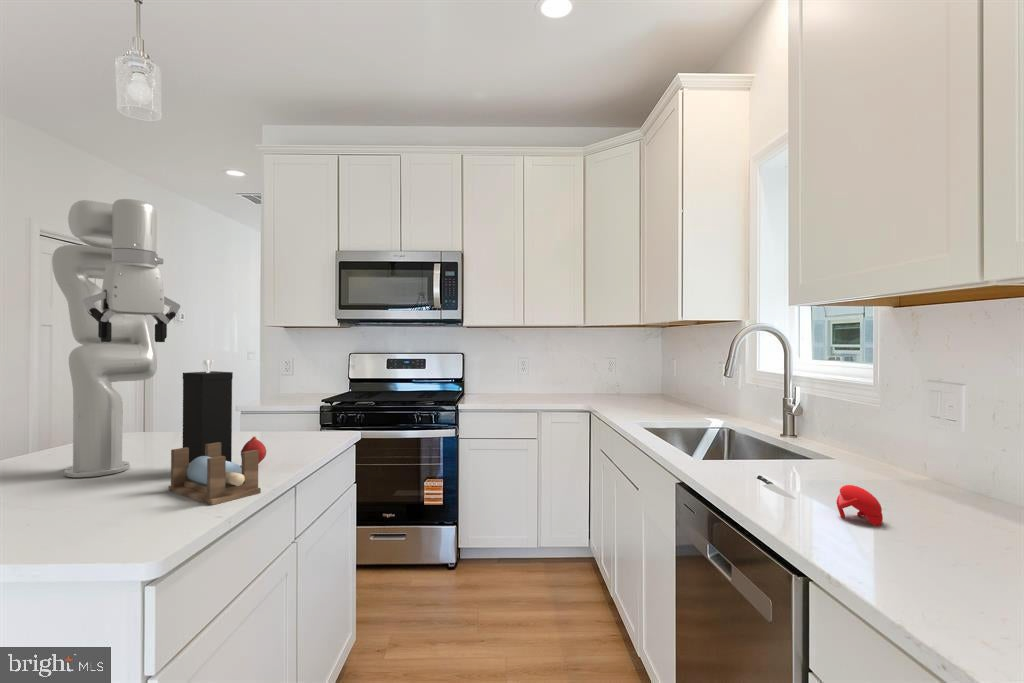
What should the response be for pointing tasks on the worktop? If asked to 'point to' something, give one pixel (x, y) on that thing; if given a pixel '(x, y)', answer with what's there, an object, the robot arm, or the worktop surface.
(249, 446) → the onion
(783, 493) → the chef's knife
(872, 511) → the cap
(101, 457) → the robot arm
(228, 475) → the blue rolling pin
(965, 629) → the worktop surface
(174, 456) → the holder
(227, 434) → the tall black box
